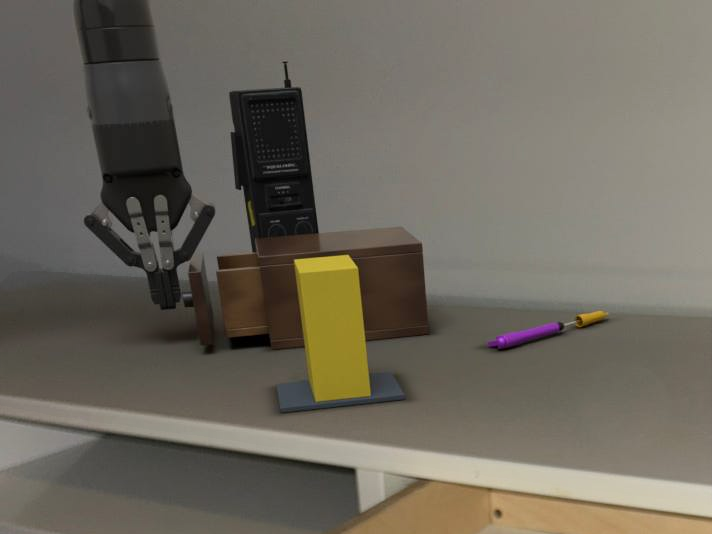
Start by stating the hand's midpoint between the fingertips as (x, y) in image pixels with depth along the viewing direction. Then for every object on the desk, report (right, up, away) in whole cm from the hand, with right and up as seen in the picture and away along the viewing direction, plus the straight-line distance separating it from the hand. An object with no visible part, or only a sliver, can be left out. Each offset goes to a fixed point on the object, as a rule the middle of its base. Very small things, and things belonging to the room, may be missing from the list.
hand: (168, 308), depth 108 cm
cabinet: (+17, -1, +4) cm, 18 cm away
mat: (+20, -13, -19) cm, 30 cm away
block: (+20, -13, -19) cm, 30 cm away
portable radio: (+10, +4, +14) cm, 18 cm away
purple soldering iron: (+38, -4, -3) cm, 39 cm away
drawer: (+9, -1, +3) cm, 10 cm away
